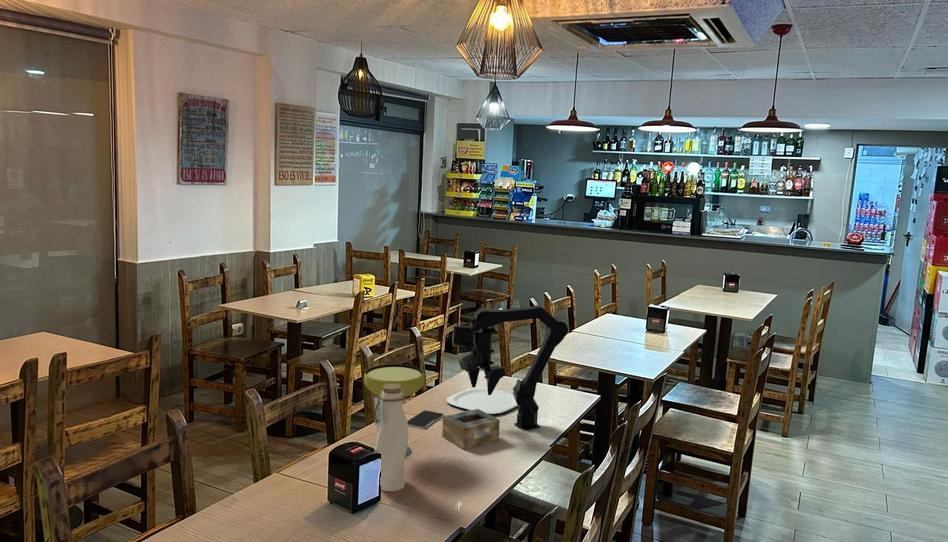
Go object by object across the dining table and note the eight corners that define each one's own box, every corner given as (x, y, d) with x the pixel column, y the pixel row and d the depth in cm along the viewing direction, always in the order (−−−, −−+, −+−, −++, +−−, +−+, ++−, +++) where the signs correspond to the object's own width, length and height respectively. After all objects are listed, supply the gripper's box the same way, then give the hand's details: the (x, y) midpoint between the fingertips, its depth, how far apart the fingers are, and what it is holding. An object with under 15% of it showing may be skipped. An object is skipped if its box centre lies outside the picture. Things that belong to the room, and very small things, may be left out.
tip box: (477, 428, 227) (477, 408, 226) (499, 440, 217) (499, 419, 216) (442, 436, 219) (442, 416, 218) (463, 449, 209) (463, 428, 208)
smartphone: (444, 413, 239) (424, 427, 225) (444, 417, 239) (424, 430, 225) (424, 410, 242) (403, 422, 228) (424, 413, 242) (403, 426, 228)
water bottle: (390, 498, 177) (391, 395, 173) (364, 488, 182) (365, 388, 178) (414, 483, 186) (415, 385, 182) (388, 475, 190) (389, 379, 186)
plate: (438, 404, 251) (438, 400, 250) (477, 388, 271) (477, 384, 271) (495, 420, 236) (495, 416, 236) (531, 402, 257) (531, 397, 257)
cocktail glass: (416, 437, 218) (418, 362, 214) (428, 460, 201) (430, 379, 197) (360, 442, 213) (360, 365, 209) (367, 466, 196) (368, 383, 192)
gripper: (447, 342, 228) (446, 387, 230) (479, 355, 213) (478, 403, 215) (474, 339, 234) (473, 382, 237) (507, 351, 219) (505, 397, 222)
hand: (481, 391), depth 227 cm, fingers open, 9 cm apart
